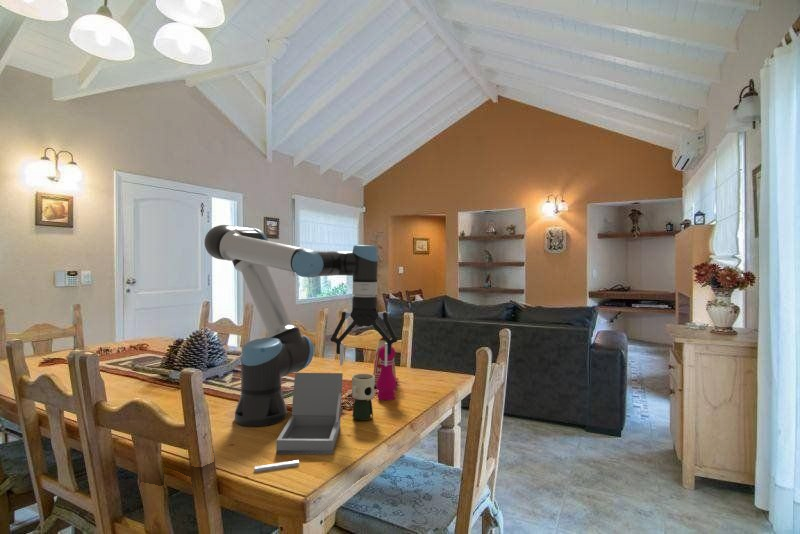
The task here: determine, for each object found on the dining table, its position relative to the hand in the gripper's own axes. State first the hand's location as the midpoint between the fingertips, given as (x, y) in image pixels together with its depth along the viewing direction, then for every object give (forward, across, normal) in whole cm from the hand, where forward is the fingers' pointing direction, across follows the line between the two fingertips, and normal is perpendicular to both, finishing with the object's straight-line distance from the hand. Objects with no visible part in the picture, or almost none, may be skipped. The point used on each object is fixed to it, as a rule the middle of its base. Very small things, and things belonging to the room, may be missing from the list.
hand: (363, 365), depth 134 cm
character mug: (+17, 0, 0) cm, 17 cm away
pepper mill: (+17, +7, +20) cm, 27 cm away
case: (+17, -13, -14) cm, 25 cm away
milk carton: (+17, +6, +39) cm, 43 cm away
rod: (+17, -18, -32) cm, 40 cm away
